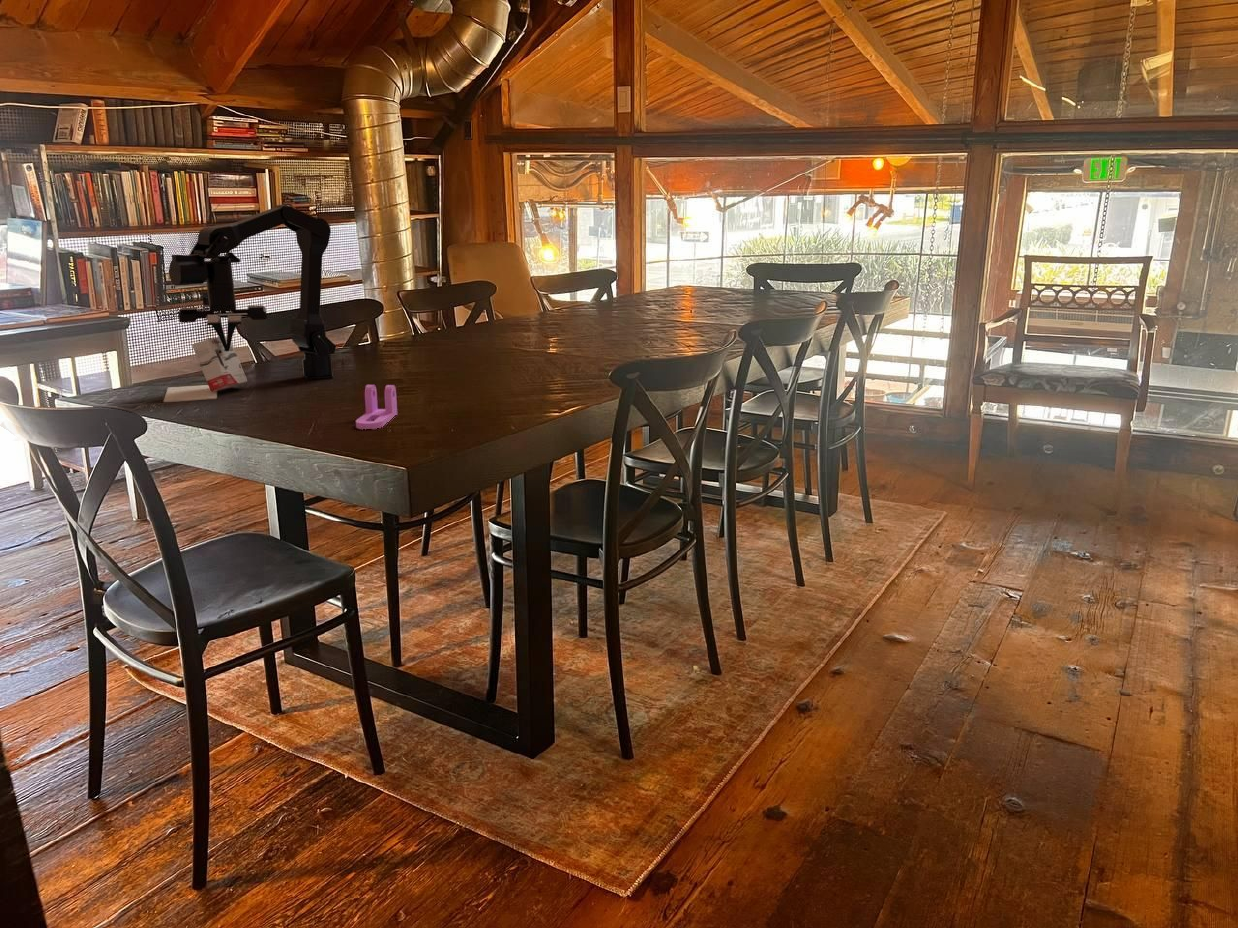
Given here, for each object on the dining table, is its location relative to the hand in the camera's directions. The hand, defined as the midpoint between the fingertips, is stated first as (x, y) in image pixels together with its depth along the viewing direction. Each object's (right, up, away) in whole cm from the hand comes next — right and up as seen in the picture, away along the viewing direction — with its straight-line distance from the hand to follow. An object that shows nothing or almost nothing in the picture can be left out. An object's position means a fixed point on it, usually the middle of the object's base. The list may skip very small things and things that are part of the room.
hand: (227, 350), depth 218 cm
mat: (-8, -10, 0) cm, 13 cm away
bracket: (+42, -18, -25) cm, 52 cm away
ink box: (0, -8, +3) cm, 9 cm away
